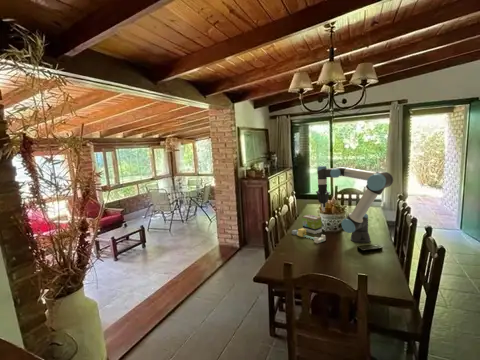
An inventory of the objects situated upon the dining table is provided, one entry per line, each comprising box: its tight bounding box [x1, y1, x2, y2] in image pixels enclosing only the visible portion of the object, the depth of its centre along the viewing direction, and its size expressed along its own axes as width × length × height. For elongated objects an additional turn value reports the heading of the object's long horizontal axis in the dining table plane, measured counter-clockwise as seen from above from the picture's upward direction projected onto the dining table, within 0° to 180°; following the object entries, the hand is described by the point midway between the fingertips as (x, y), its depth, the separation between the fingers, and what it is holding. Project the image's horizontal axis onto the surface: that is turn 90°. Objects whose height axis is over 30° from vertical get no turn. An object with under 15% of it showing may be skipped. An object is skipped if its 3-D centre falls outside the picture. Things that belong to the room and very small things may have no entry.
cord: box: [296, 233, 324, 243], centre depth 252 cm, size 32×2×2 cm, turn 35°
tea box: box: [302, 214, 323, 235], centre depth 266 cm, size 15×10×15 cm, turn 37°
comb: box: [313, 234, 327, 244], centre depth 240 cm, size 4×10×4 cm, turn 126°
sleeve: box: [297, 227, 307, 238], centre depth 256 cm, size 5×5×6 cm
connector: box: [291, 229, 298, 236], centre depth 263 cm, size 4×4×3 cm
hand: (323, 210), depth 248 cm, fingers closed
